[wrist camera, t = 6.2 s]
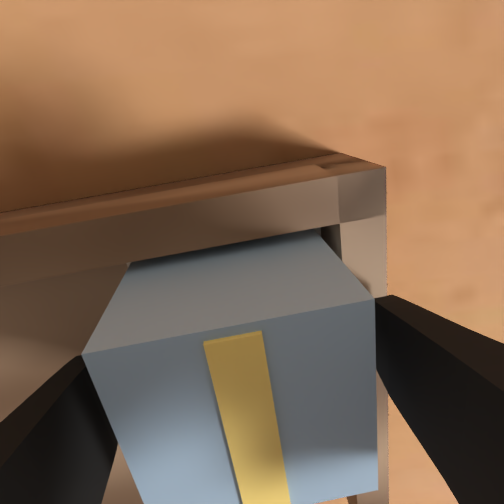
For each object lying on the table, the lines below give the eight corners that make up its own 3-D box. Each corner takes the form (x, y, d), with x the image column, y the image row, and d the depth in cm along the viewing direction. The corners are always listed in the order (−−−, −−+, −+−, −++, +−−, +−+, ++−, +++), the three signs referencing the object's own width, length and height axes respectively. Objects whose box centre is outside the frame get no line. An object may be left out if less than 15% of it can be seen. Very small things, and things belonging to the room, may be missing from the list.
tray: (357, 453, 17) (389, 526, 14) (62, 515, 16) (28, 606, 13) (340, 152, 11) (385, 167, 8) (-103, 230, 11) (-222, 276, 8)
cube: (317, 350, 12) (379, 494, 8) (178, 377, 12) (157, 541, 8) (303, 217, 11) (377, 301, 6) (139, 246, 10) (79, 357, 6)
